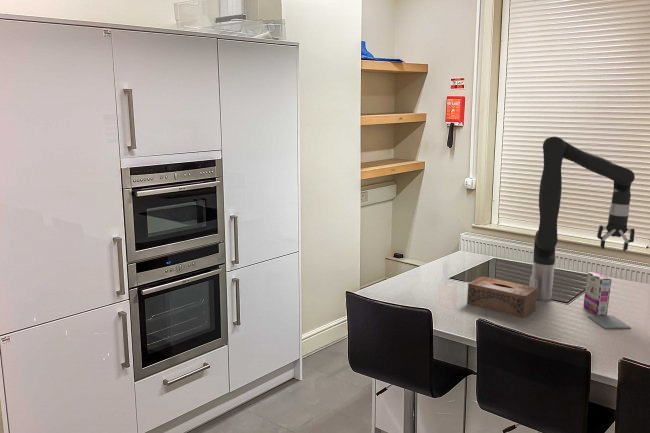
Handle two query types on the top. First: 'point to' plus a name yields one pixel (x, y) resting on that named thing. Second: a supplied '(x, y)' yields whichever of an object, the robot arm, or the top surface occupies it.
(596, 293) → the candy bar box
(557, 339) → the top surface
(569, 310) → the top surface
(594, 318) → the coaster
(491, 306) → the tissue box cover
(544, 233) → the robot arm
